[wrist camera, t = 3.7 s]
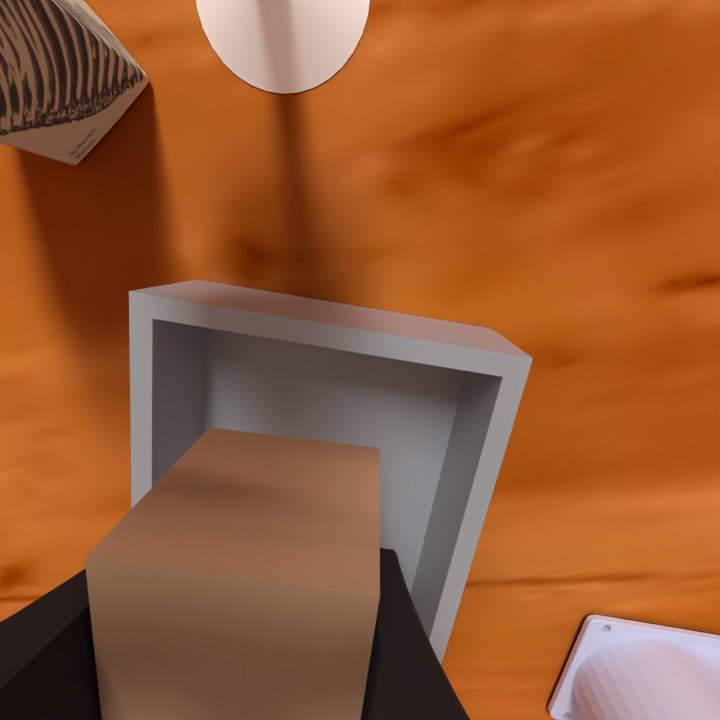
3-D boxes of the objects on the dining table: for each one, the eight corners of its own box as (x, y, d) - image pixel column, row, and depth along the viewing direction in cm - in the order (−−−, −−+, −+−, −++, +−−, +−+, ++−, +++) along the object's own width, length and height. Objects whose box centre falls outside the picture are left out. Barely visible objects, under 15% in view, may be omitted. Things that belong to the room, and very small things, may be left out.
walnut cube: (360, 584, 13) (349, 790, 8) (209, 565, 13) (105, 757, 8) (379, 447, 11) (379, 596, 6) (209, 427, 11) (84, 558, 6)
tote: (490, 328, 18) (532, 358, 13) (415, 619, 23) (424, 720, 18) (197, 279, 18) (128, 291, 13) (185, 581, 23) (133, 671, 18)
